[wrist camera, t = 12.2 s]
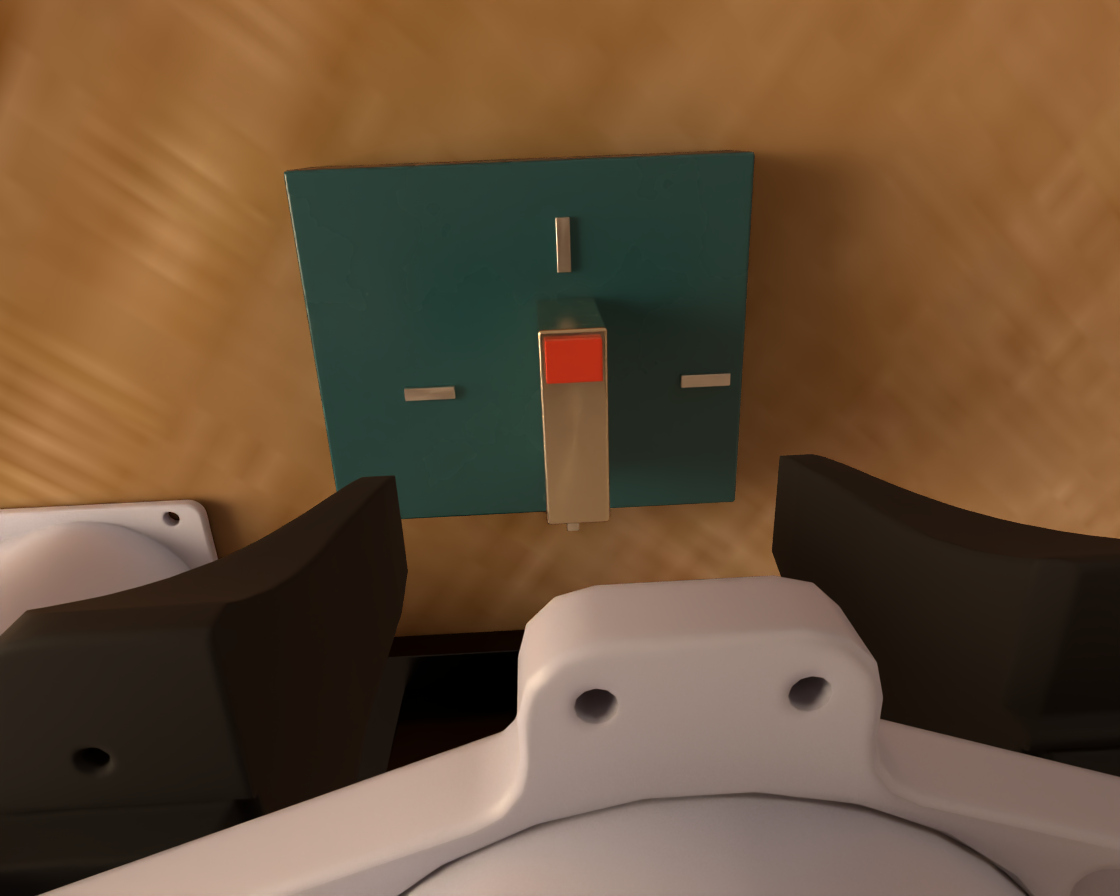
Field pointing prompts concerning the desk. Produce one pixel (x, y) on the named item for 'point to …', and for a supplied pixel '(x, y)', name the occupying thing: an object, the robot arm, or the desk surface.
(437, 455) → the panel
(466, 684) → the faucet stand
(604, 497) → the tan rectangular block
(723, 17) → the desk surface
